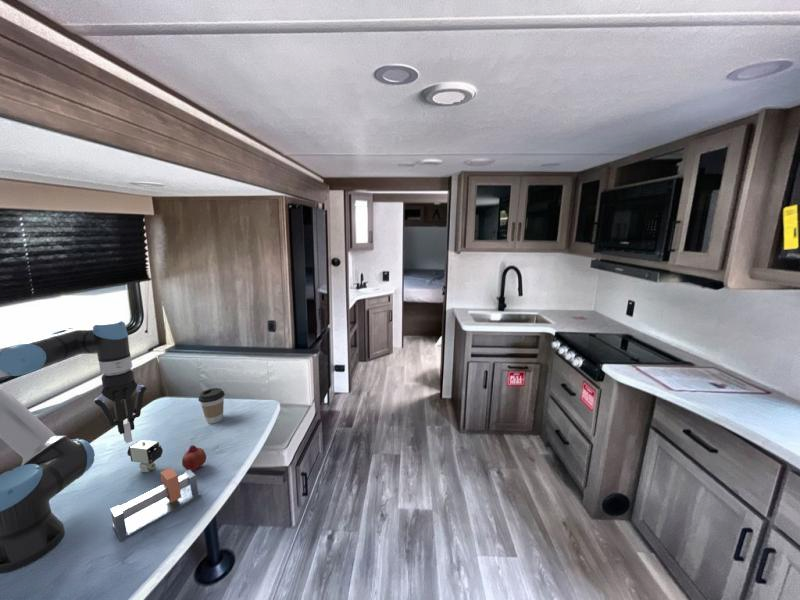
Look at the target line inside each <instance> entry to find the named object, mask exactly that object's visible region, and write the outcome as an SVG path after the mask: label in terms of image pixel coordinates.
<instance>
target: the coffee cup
mask: <svg viewBox="0 0 800 600" xmlns="http://www.w3.org/2000/svg"><path fill="white" fill-rule="evenodd" d="M225 395H226V393H225V391H223V390H222V388H219V387H214V388H209V389H205V390H204V391H202V392H200V395H199V396H198V402H200V405H201V409H202V411H203V415H204V418H205V419H204V420H205V421H206V424H209V425H213V424H218V423H220V422H221V421H223V420H224V405H225V404H224V402H225V401H224V400H225V397H224V396H225Z"/></svg>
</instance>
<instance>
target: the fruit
mask: <svg viewBox="0 0 800 600" xmlns="http://www.w3.org/2000/svg"><path fill="white" fill-rule="evenodd" d="M206 460H207V454H206V452H205V450H204V449H203V448H202V447H196V445H193V444H192V445H190V446H189V448H188V450H187V451H186V452H185V453H184V455H183V457H182V461H181V465H182V467H183V468H184V469H185V471H188V470H191V471H192V472H193V471H196V470H198V469H199V468H200V467H202V466H203V465H204V464H205V462H206Z"/></svg>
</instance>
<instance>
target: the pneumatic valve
mask: <svg viewBox="0 0 800 600" xmlns="http://www.w3.org/2000/svg"><path fill="white" fill-rule="evenodd" d="M163 451H164V450H163V447H162V445H160V442H159V441H155V440H154V439H148V440H142V439H139V440H138V441H136V442H135V443H133V444H131V445H130V446H128V450H127V456H128V457H130V462H131V463H132V462H133V463H139V469H140V472H141V473H142V472H143V473H150V472H151V471H153V470H154V469H156V466H157V465H156V461H157V460H159V459H160V458H161V457H162V455H163Z"/></svg>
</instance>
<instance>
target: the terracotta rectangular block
mask: <svg viewBox="0 0 800 600" xmlns="http://www.w3.org/2000/svg"><path fill="white" fill-rule="evenodd" d="M178 477H179V476H178V474H177V473H176V472H175V470H174V469H173V468H172V467H169V468H166V469H164V470H162V471H160V478H161V479H160V480H161V484H162V485H163V484H165V485H166V486H167V487H168V493H169V496H168V497H167V499H168V500H169V501H170V502H171V503H172V502H174V501H175V500H177V499H179V498H181V493H180V486H179V480H178Z"/></svg>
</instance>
